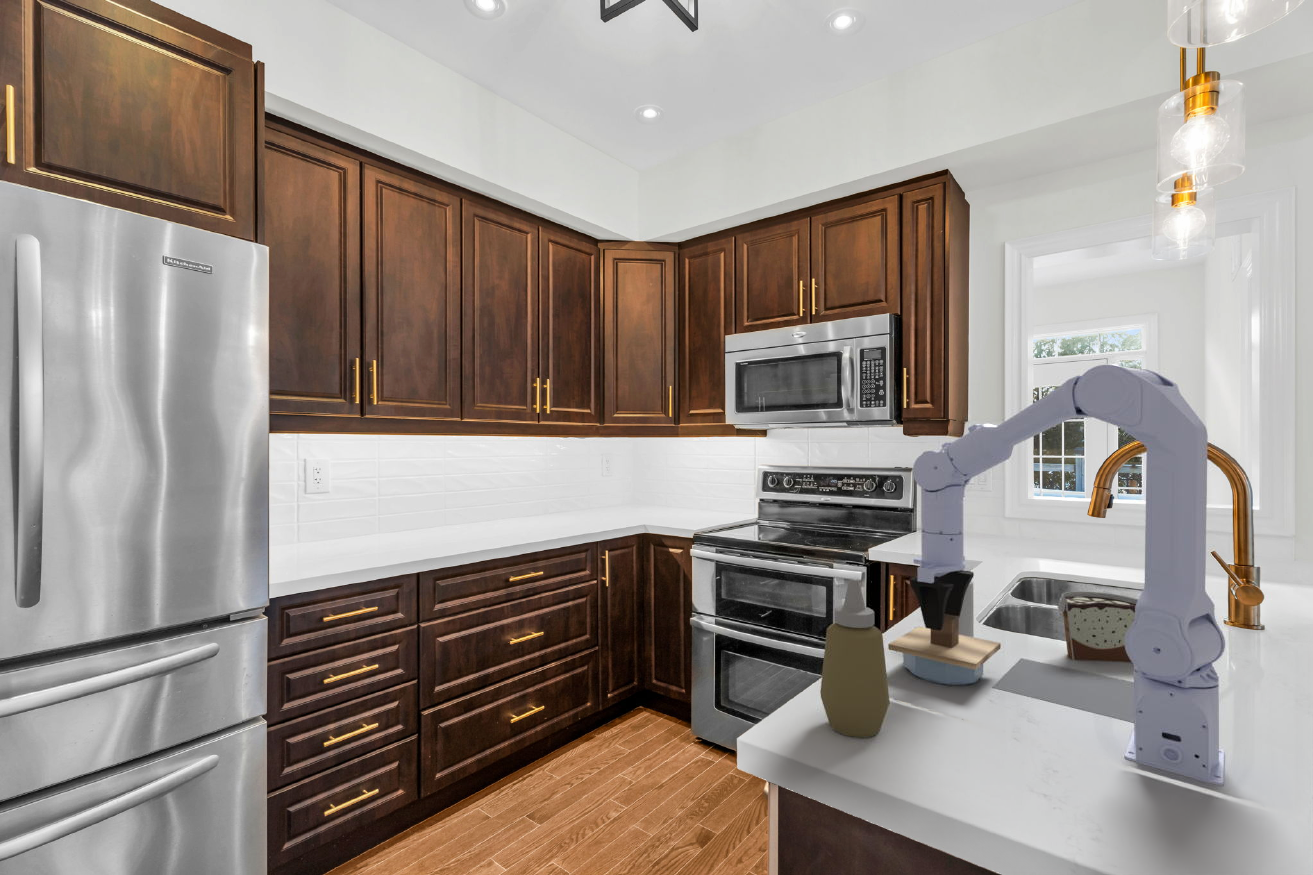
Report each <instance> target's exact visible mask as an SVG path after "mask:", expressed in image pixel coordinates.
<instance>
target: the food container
mask: <svg viewBox="0 0 1313 875" xmlns="http://www.w3.org/2000/svg"><path fill="white" fill-rule="evenodd" d="M1138 599H1139V598H1138ZM1138 599H1137V598H1134V597H1130V596H1126V595H1125V596H1124V595H1119V594H1113V593H1106V592H1098V591H1067V592H1064V593H1062V594H1061V596H1060V597H1059V600H1058V606H1057V609H1058V611H1061V612H1062V616H1063V623H1064V624H1063V625H1064V632H1065V634H1064V635H1065V642H1066V651H1067V652H1066V653H1067V657H1068V658H1069V659H1070V660H1072V661H1092V662H1093V661H1095V662H1119V663H1123V662H1124V663H1133V662H1132V661H1131V660H1130V658H1129V656H1128V655H1127V652H1126V650H1125V645H1124V639H1125V635H1126V633H1127V631H1128V629H1129V628H1130V627H1131V625H1132V624H1133V622H1134V619H1135V606H1136V604H1137V601H1138Z"/></svg>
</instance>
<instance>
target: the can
mask: <svg viewBox="0 0 1313 875" xmlns="http://www.w3.org/2000/svg"><path fill="white" fill-rule="evenodd" d="M974 622H975V621H974V581H973V579H972V580H971V582H970V583H969V585H968V588H967V590H966V593H965V596H964V600H963V605H962V609H961V613H960V617H959V635H964V636H969V637H974V635H975V634H974V632H975V630H974V629H975V628H974ZM974 638H975V637H974Z"/></svg>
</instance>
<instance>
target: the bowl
mask: <svg viewBox="0 0 1313 875" xmlns="http://www.w3.org/2000/svg"><path fill="white" fill-rule="evenodd" d="M902 656H903V658H902V661H903V662H902V663H903V664H902V665H903V667H904V668H906V669H908V670H909V672H910V673H912V675H914V676H916V677H917V678H920V679H922V680H925V681H928V682H932V683H935V684H942V685H949V686H964V685H965V686H966V685H970V684H971V685H972V684H974V683H977V681H978V680H979V679H980V678H981V677H982V676H983V675H984V663H983V664H982V665H981V666H980V667H979V668H978V669H977V670H974V669H970V668H965V667H961V666H957V665H953V664H948V663H944V662H940V661H936V660H931V659H927V658H923V657H919V656H914V655H910V654H906V653H902Z"/></svg>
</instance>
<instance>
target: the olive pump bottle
mask: <svg viewBox="0 0 1313 875" xmlns="http://www.w3.org/2000/svg"><path fill="white" fill-rule="evenodd" d="M847 583H848V584H847V588H846V592H845V597H844V601H843V605H842V604H841V605H837V606H835V607H834V622H833V623H832V624H830V625H829V626H828V627H826V634H825V642H824V643H825V644H824V652H823V664H822V672H821V674H822V675H821V682H820V683H821V684H820V691H819V692H820V699H821V702H822V705H823V708H824V710H825V714H826V715H825V716H826V717H827V721H828V724H829V726H830V727H831V728H832V729H833V730H834V731H836V732H838V733H840V734H841V735H845V736H848V737H854V738H868V737H869V738H871V737H874V736H877V734H879V732H880V731H881V728H882V725H883V724H884V720H885V717H886V714H887V711H888V708H889V706H890V704H891V703H890V694H889V684H888V672H887V666H886V657H885V648H884V647H885V646H884V636H883V632H882V631H881V630H880V629H879V628H878V627H877V626H875V611H874V609H871V608H870V607H867V606H866V605H865V601H864V600H865V599H864V596H863V592H862V591H863V590H862V586H861V581H860V579H858V578H849V579H848V582H847Z"/></svg>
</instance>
